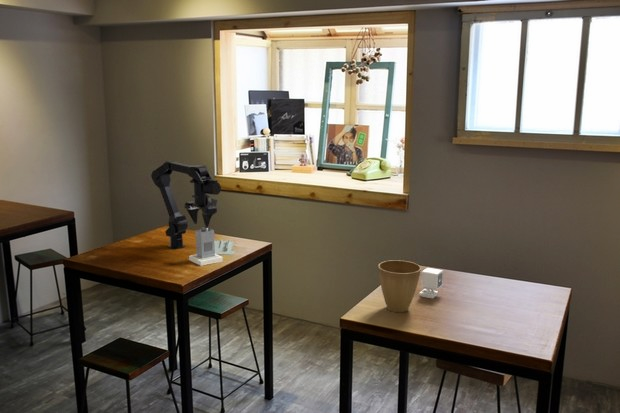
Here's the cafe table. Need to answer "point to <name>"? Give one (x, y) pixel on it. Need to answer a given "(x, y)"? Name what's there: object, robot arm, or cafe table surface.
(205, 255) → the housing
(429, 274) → the security camera
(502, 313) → the cafe table surface
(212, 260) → the plinth
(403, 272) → the plant pot
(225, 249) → the metal bracket
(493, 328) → the cafe table surface
